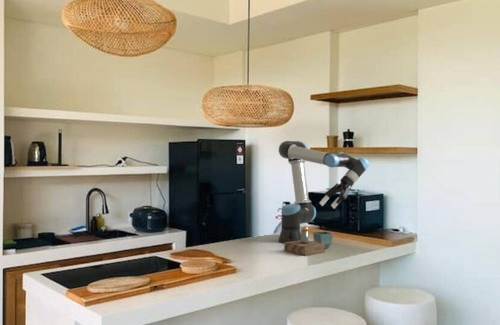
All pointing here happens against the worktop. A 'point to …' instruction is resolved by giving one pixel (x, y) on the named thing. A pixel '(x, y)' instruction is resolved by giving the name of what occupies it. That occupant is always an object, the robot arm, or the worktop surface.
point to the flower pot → (323, 238)
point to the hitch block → (304, 248)
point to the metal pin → (304, 235)
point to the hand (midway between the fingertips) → (326, 205)
